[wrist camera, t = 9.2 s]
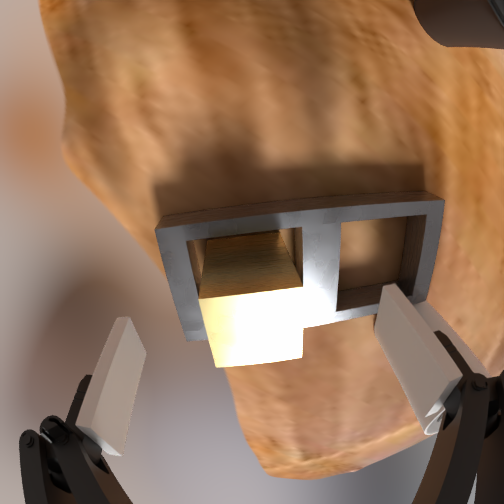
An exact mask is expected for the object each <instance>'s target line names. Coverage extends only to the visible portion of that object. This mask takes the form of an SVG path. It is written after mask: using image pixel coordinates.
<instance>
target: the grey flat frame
mask: <svg viewBox="0 0 504 504" xmlns="http://www.w3.org/2000/svg"><path fill="white" fill-rule="evenodd" d="M444 203H445V200H444V199H442V198H440V197H438V196H435V195H433V194H431V193H429V192H427V191H411V192H388V193H370V194H354V195H340V196H328V197H316V198H305V199H294V200H284V201H274V202H265V203H256V204H248V205H239V206H231V207H224V208H216V209H209V210H201V211H194V212H187V213H181V214H174V215H168V216H163V218H162V219H161V221H160V222H159V224H158V225H157V227H156V228H155V233H156V237H157V241H158V245H159V249H160V253H161V257H162V261H163V265H164V268H165V272H166V276H167V279H168V283H169V286H170V289H171V293H172V296H173V300H174V303H175V306H176V310H177V312H178V316H179V319H180V322H181V325H182V328H183V331H184V334H185V337H186V340H187V341H197V340H209V339H208V336H207V332H206V328H205V324H204V320H203V316H202V312H201V308H200V304H199V300H198V298H199V291H200V285H201V274H200V269H199V264H198V259H197V255H196V250H195V245H194V240H197V239H204V238H212V237H220V236H228V235H236V234H244V233H252V232H260V231H269V230H277V229H286V228H294V237H295V266H296V271H297V273H298V275H299V278H300V280H301V282H302V285H303V328H304V327H310V326H316V325H322V324H327V323H333V322H338V321H343V320H348V319H353V318H358V317H363V316H367V315H372V314H376V313H378V309H379V304H380V299H381V294H382V289H383V286H385V285H390V284H396V285H397V287H398V288H399V289H400V290H401V291H402V293H403V294H404V295H405V296H406V298H407V299H408V300H409V301H410V303H411V304H412V305H413V304H417V303H421V302H424V301H425V300H426V297H427V293H428V289H429V285H430V281H431V277H432V273H433V269H434V264H435V259H436V254H437V249H438V244H439V238H440V232H441V226H442V219H443V212H444ZM402 216H408V218H407V227H406V235H405V243H404V250H403V257H402V263H401V269H400V275H399V280H397V281H392V282H387V283H382V284H376V285H371V286H366V287H360V288H355V289H349V290H343V291H338V278H339V261H340V238H341V222H350V221H360V220H370V219H380V218H391V217H402Z"/></svg>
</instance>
